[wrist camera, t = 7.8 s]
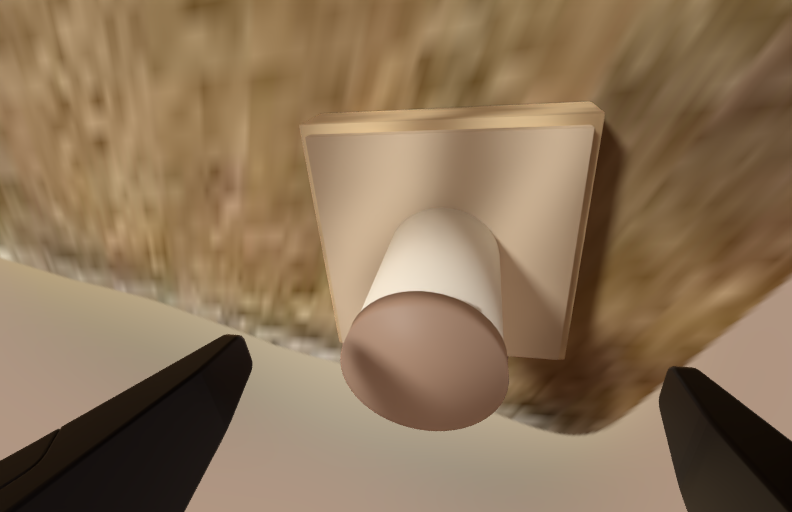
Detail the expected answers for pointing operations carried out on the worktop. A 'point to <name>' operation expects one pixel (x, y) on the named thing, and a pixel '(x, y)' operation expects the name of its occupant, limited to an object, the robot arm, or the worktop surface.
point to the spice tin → (432, 326)
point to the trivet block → (461, 200)
